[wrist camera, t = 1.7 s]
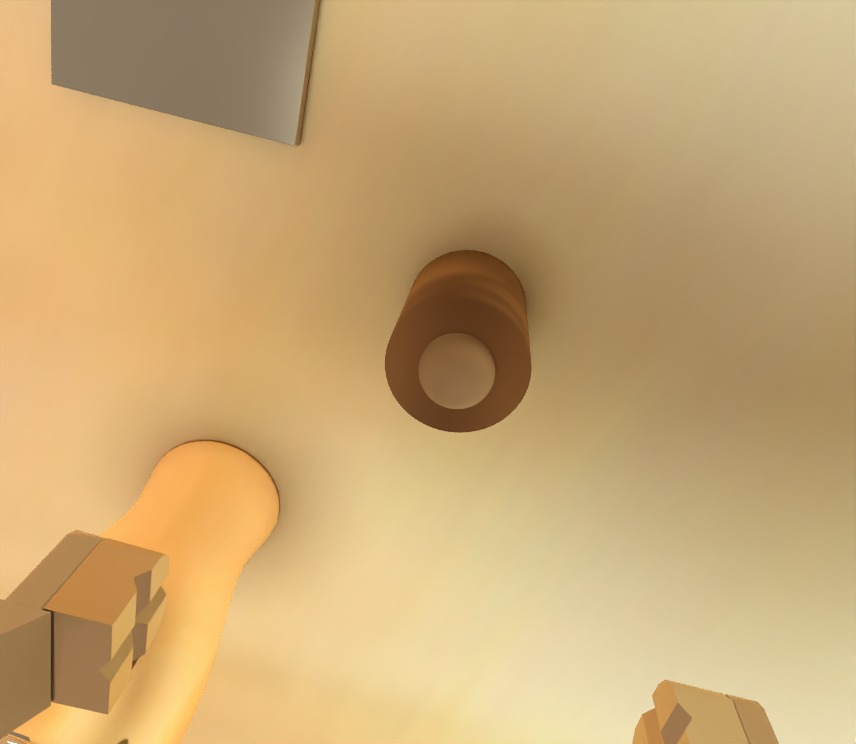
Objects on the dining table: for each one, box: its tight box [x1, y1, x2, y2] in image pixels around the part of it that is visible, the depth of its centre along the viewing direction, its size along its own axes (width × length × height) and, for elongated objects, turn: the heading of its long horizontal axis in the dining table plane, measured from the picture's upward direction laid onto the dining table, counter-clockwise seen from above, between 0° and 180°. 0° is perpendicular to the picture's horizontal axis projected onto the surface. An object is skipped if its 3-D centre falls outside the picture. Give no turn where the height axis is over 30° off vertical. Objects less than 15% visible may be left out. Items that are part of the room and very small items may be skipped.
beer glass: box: [0, 441, 279, 744], centre depth 25 cm, size 7×7×15 cm
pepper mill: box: [385, 250, 531, 432], centre depth 23 cm, size 5×5×7 cm
